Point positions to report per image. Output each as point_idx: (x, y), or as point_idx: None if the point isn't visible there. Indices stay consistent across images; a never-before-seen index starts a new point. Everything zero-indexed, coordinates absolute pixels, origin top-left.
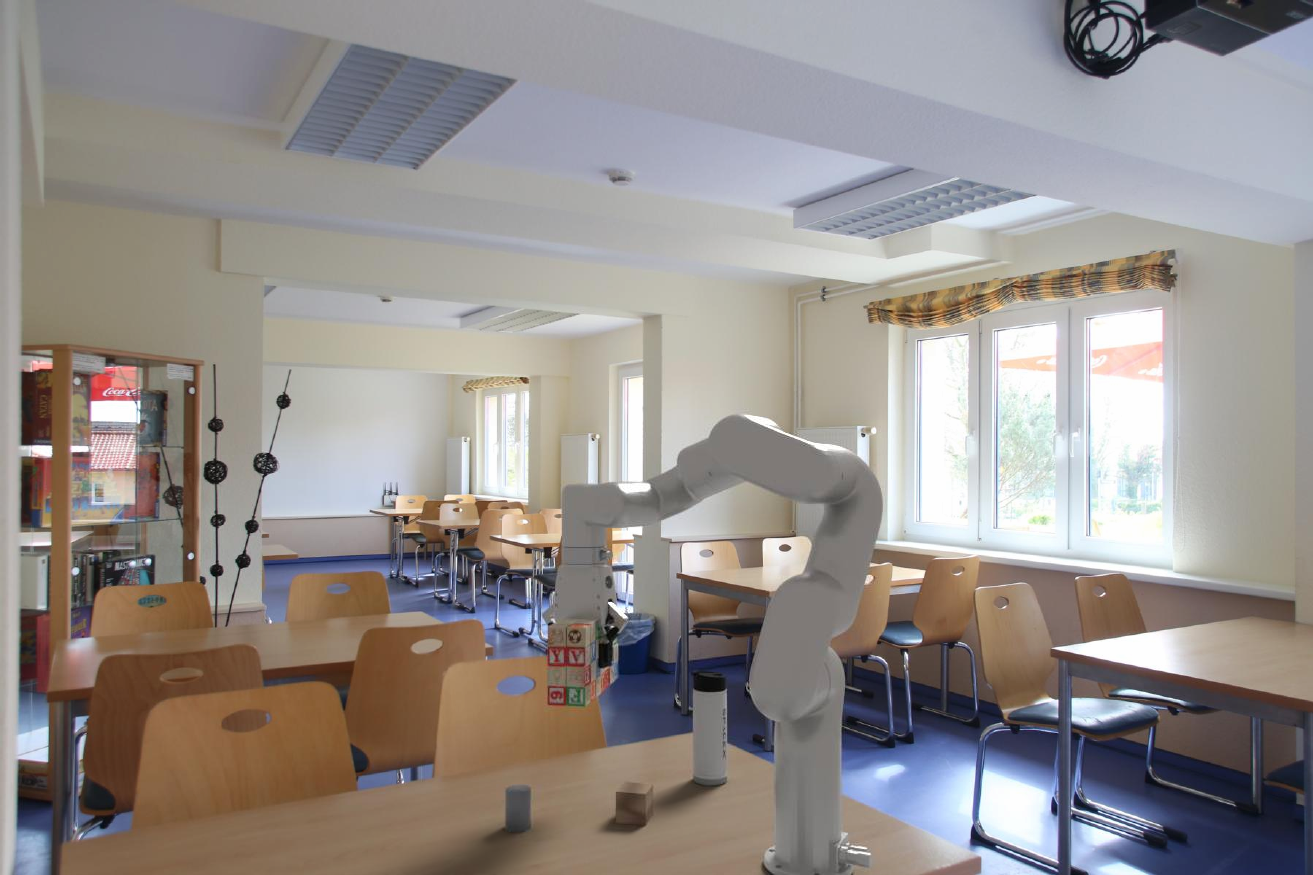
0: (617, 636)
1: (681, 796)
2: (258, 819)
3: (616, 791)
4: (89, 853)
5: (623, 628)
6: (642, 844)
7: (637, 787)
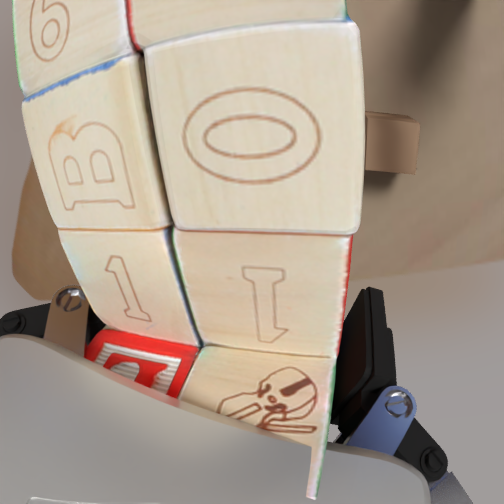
0: (422, 428)
1: (433, 35)
2: (33, 228)
3: (366, 169)
4: (26, 287)
5: (451, 472)
6: (406, 223)
7: (397, 144)
